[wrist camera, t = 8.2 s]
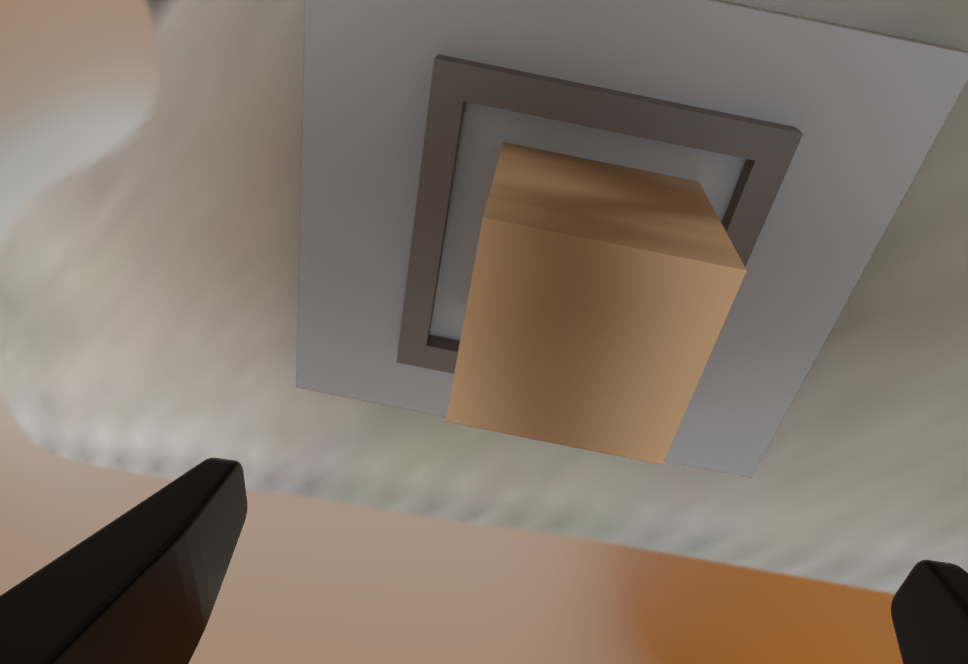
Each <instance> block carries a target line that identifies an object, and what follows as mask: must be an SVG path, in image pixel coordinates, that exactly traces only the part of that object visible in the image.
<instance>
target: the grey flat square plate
mask: <svg viewBox="0 0 968 664" xmlns="http://www.w3.org/2000/svg"><path fill="white" fill-rule="evenodd" d="M967 80H968V52H966V51H963V50H958V49H954V48H949V47H944V46H939V45H934V44H929V43H924V42H919V41H915V40H910V39H905V38H900V37H895V36H890V35H885V34H880V33H876V32H871V31H866V30H861V29H856V28H851V27H846V26H841V25H837V24H832V23H827V22H822V21H817V20H812V19H807V18H802V17H798V16H793V15H788V14H783V13H778V12H773V11H768V10H764V9H759V8H754V7H749V6H744V5H739V4H734V3H729V2H725V1H720V0H305V32H304V75H303V117H302V160H301V202H300V245H299V288H298V330H297V373H296V387H297V388H302V389H307V390H312V391H317V392H322V393H327V394H332V395H337V396H342V397H347V398H352V399H357V400H362V401H367V402H372V403H377V404H382V405H387V406H392V407H397V408H402V409H407V410H412V411H417V412H422V413H427V414H432V415H437V416H442V417H446V416H447V410H448V405H449V399H450V394H451V388H452V383H453V377H454V372H455V367H456V361H457V356H458V350H459V345H460V339H461V334H462V328H463V323H464V318H465V312H466V307H467V301H468V296H469V290H470V285H471V279H472V274H473V268H474V263H475V258H476V252H477V247H478V241H479V236H480V230H481V225H482V219H483V215H484V211H485V207H486V204H487V200H488V196H489V192H490V189H491V185H492V181H493V177H494V174H495V170H496V166H497V162H498V158H499V155H500V151H501V147H502V143H503V142H506V143H511V144H516V145H521V146H526V147H531V148H536V149H541V150H546V151H551V152H555V153H560V154H565V155H570V156H575V157H580V158H585V159H590V160H595V161H600V162H605V163H610V164H615V165H620V166H625V167H630V168H634V169H639V170H644V171H649V172H654V173H659V174H664V175H669V176H674V177H679V178H684V179H689V180H694V181H699V183H700V184H701V186H702V188H703V190H704V192H705V194H706V196H707V197H708V199H709V201H710V203H711V205H712V207H713V209H714V210H715V212H716V214H717V216H718V218H719V220H720V222H721V223H722V225H723V227H724V229H725V231H726V233H727V235H728V236H729V238H730V240H731V242H732V244H733V246H734V248H735V250H736V251H737V253H738V255H739V257H740V259H741V261H742V263H743V264H744V266H745V268H746V270H747V271H746V274H745V276H744V278H743V281H742V283H741V285H740V287H739V290H738V292H737V294H736V297H735V299H734V301H733V303H732V306H731V308H730V310H729V313H728V315H727V317H726V320H725V322H724V324H723V326H722V329H721V331H720V333H719V336H718V338H717V340H716V342H715V345H714V347H713V349H712V352H711V354H710V356H709V359H708V361H707V363H706V365H705V368H704V370H703V372H702V375H701V377H700V379H699V381H698V384H697V386H696V388H695V391H694V393H693V395H692V398H691V400H690V402H689V404H688V407H687V409H686V411H685V414H684V416H683V418H682V420H681V423H680V425H679V427H678V430H677V432H676V434H675V437H674V439H673V441H672V443H671V446H670V448H669V450H668V453H667V455H666V457H665V459H664V461H668V462H673V463H678V464H683V465H688V466H693V467H698V468H703V469H708V470H713V471H718V472H723V473H728V474H733V475H738V476H743V477H748V478H751V477H752V475H753V473H754V471H755V470H756V468H757V466H758V464H759V462H760V460H761V459H762V457H763V455H764V453H765V451H766V449H767V448H768V446H769V444H770V442H771V440H772V438H773V437H774V435H775V433H776V431H777V429H778V427H779V426H780V424H781V422H782V420H783V418H784V416H785V415H786V413H787V411H788V409H789V407H790V405H791V403H792V402H793V400H794V398H795V396H796V394H797V392H798V391H799V389H800V387H801V385H802V383H803V381H804V380H805V378H806V376H807V374H808V372H809V370H810V369H811V367H812V365H813V363H814V361H815V359H816V358H817V356H818V354H819V352H820V350H821V348H822V347H823V345H824V343H825V341H826V339H827V337H828V336H829V334H830V332H831V330H832V328H833V326H834V324H835V323H836V321H837V319H838V317H839V315H840V313H841V312H842V310H843V308H844V306H845V304H846V302H847V301H848V299H849V297H850V295H851V293H852V291H853V290H854V288H855V286H856V284H857V282H858V280H859V279H860V277H861V275H862V273H863V271H864V269H865V268H866V266H867V264H868V262H869V260H870V258H871V257H872V255H873V253H874V251H875V249H876V247H877V245H878V244H879V242H880V240H881V238H882V236H883V234H884V233H885V231H886V229H887V227H888V225H889V223H890V222H891V220H892V218H893V216H894V214H895V212H896V211H897V209H898V207H899V205H900V203H901V201H902V200H903V198H904V196H905V194H906V192H907V190H908V189H909V187H910V185H911V183H912V181H913V179H914V178H915V176H916V174H917V172H918V170H919V168H920V167H921V165H922V163H923V161H924V159H925V157H926V155H927V154H928V152H929V150H930V148H931V146H932V144H933V143H934V141H935V139H936V137H937V135H938V133H939V132H940V130H941V128H942V126H943V124H944V122H945V121H946V119H947V117H948V115H949V113H950V111H951V110H952V108H953V106H954V104H955V102H956V100H957V99H958V97H959V95H960V93H961V91H962V89H963V88H964V86H965V84H966V82H967Z"/></svg>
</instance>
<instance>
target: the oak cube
mask: <svg viewBox="0 0 968 664" xmlns="http://www.w3.org/2000/svg"><path fill="white" fill-rule="evenodd" d="M746 271H747V270H746V268H745V266H744V264H743V263H742V261H741V259H740V257H739V255H738V253H737V251H736V250H735V248H734V246H733V244H732V242H731V240H730V238H729V236H728V235H727V233H726V231H725V229H724V227H723V225H722V223H721V222H720V220H719V218H718V216H717V214H716V212H715V210H714V209H713V207H712V205H711V203H710V201H709V199H708V197H707V196H706V194H705V192H704V190H703V188H702V186H701V184H700V183H699V181H694V180H689V179H684V178H679V177H674V176H669V175H664V174H659V173H654V172H649V171H644V170H639V169H634V168H630V167H625V166H620V165H615V164H610V163H605V162H600V161H595V160H590V159H585V158H580V157H575V156H570V155H565V154H560V153H555V152H551V151H546V150H541V149H536V148H531V147H526V146H521V145H516V144H511V143H506V142H503V143H502V147H501V151H500V155H499V158H498V162H497V166H496V170H495V174H494V177H493V181H492V185H491V189H490V192H489V196H488V200H487V204H486V207H485V211H484V215H483V219H482V225H481V230H480V236H479V241H478V247H477V252H476V258H475V263H474V268H473V274H472V279H471V285H470V290H469V296H468V301H467V307H466V312H465V318H464V323H463V328H462V334H461V339H460V345H459V350H458V356H457V361H456V367H455V372H454V377H453V383H452V388H451V394H450V399H449V405H448V410H447V416H446V421H445V422H450V423H455V424H460V425H465V426H470V427H475V428H480V429H485V430H490V431H495V432H500V433H505V434H510V435H515V436H520V437H525V438H530V439H535V440H540V441H545V442H550V443H555V444H561V445H566V446H571V447H576V448H581V449H586V450H591V451H596V452H601V453H606V454H611V455H616V456H621V457H626V458H631V459H636V460H641V461H646V462H651V463H656V464H661V465H662V464H663V462H664V459H665V457H666V455H667V453H668V450H669V448H670V446H671V443H672V441H673V439H674V437H675V434H676V432H677V430H678V427H679V425H680V423H681V420H682V418H683V416H684V414H685V411H686V409H687V407H688V404H689V402H690V400H691V398H692V395H693V393H694V391H695V388H696V386H697V384H698V381H699V379H700V377H701V375H702V372H703V370H704V368H705V365H706V363H707V361H708V359H709V356H710V354H711V352H712V349H713V347H714V345H715V342H716V340H717V338H718V336H719V333H720V331H721V329H722V326H723V324H724V322H725V320H726V317H727V315H728V313H729V310H730V308H731V306H732V303H733V301H734V299H735V297H736V294H737V292H738V290H739V287H740V285H741V283H742V281H743V278H744V276H745V274H746Z"/></svg>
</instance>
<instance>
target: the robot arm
mask: <svg viewBox="0 0 968 664" xmlns="http://www.w3.org/2000/svg"><path fill="white" fill-rule="evenodd" d="M246 514H247V497H246V489H245V482H244V474H243V469H242V466H241V464H240V463H239V462H237V461H234V460H227V459H220V458H209V459H207V460H205V461H203V462H201V463H200V464H198V465H197V466H195V467H194V468H192V469H191V470H189V471H188V472H186V473H185V474H183V475H182V476H180V477H179V478H177V479H176V480H174V481H173V482H171V483H170V484H168V485H167V486H165V487H164V488H162V489H161V490H159V491H158V492H156V493H155V494H153V495H152V496H150V497H149V498H147V499H146V500H144V501H143V502H141V503H140V504H138V505H137V506H135V507H134V508H132V509H131V510H129V511H127V512H126V513H125V514H123V515H122V516H120V517H118V518H117V519H115V520H114V521H112V522H111V523H109V524H108V525H106V526H105V527H103V528H102V529H101V530H99V531H97V532H96V533H95V534H93V535H91V536H90V537H88V538H87V539H86V540H84V541H82V542H81V543H79V544H78V545H76V546H75V547H73V548H72V549H70V550H69V551H67V552H66V553H64V554H63V555H61V556H60V557H58V558H57V559H55V560H54V561H52V562H51V563H49V564H48V565H46V566H45V567H43V568H42V569H40V570H39V571H37V572H36V573H34V574H33V575H31V576H30V577H28V578H27V579H25V580H24V581H22V582H21V583H19V584H18V585H16V586H14V587H13V588H11V589H10V590H8V591H7V592H6V593H4V594H2V595H1V596H0V664H188V663H189V661H190V659H191V657H192V655H193V653H194V651H195V649H196V647H197V645H198V643H199V641H200V638H201V636H202V634H203V632H204V630H205V627H206V625H207V622H208V620H209V617H210V615H211V612H212V610H213V607H214V604H215V601H216V598H217V596H218V593H219V591H220V587H221V585H222V582H223V579H224V577H225V574H226V571H227V569H228V566H229V563H230V560H231V558H232V555H233V552H234V549H235V546H236V544H237V541H238V538H239V536H240V533H241V530H242V527H243V524H244V522H245V518H246ZM891 616H892V621H893V624H894V629H895V633H896V637H897V641H898V645H899V649H900V653H901V657H902V661H903V664H968V573H967V572H966V571H965V570H963V569H962V568H961V567H959V566H957V565H954V564H951V563H945V562H938V561H931V560H922V561H920V562H918V563H917V564H916V565H915V566H914V567H913V569H912V570H911V572H910V573H909V575H908V576H907V578H906V579H905V581H904V582H903V584H902V585H901V586H900V588H899V589H898V591H897V592H896V594H895V595H894V597H893V600H892V605H891Z"/></svg>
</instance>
